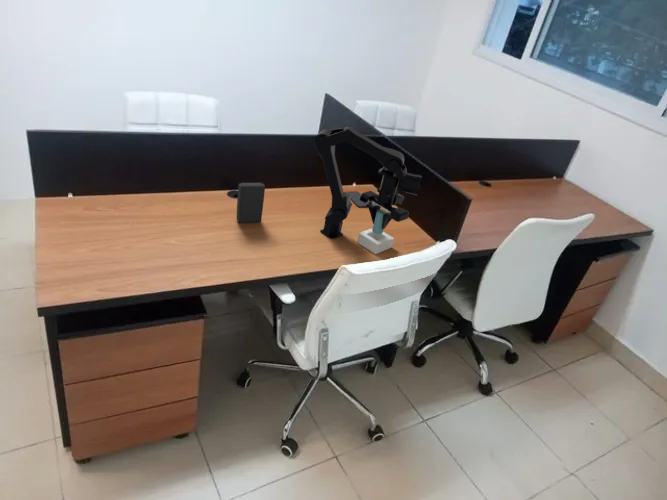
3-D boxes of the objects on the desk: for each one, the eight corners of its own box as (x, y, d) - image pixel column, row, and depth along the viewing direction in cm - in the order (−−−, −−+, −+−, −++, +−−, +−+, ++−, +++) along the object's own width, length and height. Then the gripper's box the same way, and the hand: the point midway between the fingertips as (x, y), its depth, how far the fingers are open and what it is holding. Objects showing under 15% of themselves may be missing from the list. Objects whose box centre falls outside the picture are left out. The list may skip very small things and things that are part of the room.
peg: (378, 235, 173) (383, 215, 169) (369, 230, 175) (374, 210, 171) (384, 232, 176) (390, 213, 172) (376, 227, 178) (381, 208, 174)
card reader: (259, 217, 181) (263, 181, 173) (262, 223, 178) (266, 186, 170) (235, 218, 177) (238, 181, 170) (237, 224, 174) (240, 186, 167)
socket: (375, 254, 173) (377, 244, 171) (356, 242, 178) (358, 232, 176) (391, 247, 179) (394, 238, 177) (373, 235, 184) (375, 226, 182)
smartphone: (357, 191, 217) (373, 205, 206) (357, 192, 218) (372, 207, 206) (343, 191, 214) (358, 206, 203) (342, 193, 215) (357, 208, 203)
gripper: (423, 194, 167) (411, 232, 175) (383, 173, 177) (374, 210, 185) (403, 200, 159) (392, 240, 167) (363, 178, 170) (354, 217, 178)
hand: (378, 226), depth 175 cm, fingers closed on peg, 4 cm apart
